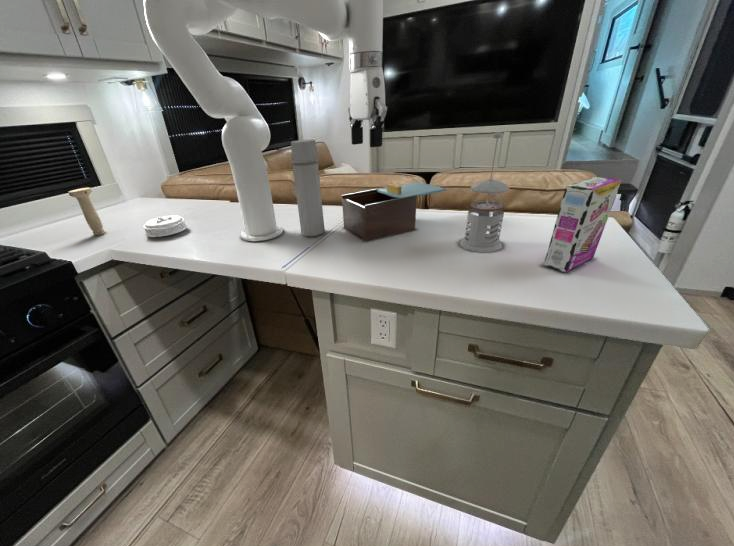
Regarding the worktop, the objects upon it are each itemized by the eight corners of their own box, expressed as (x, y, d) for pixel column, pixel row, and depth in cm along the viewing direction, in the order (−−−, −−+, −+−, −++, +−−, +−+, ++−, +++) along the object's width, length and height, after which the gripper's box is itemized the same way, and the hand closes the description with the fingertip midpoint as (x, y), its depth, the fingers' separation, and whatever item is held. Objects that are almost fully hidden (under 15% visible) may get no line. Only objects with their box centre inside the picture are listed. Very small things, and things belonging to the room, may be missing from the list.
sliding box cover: (377, 191, 99) (377, 182, 97) (418, 183, 104) (419, 175, 102) (401, 199, 89) (401, 190, 87) (446, 190, 93) (447, 181, 92)
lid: (194, 230, 110) (190, 215, 107) (157, 242, 102) (151, 226, 99) (176, 224, 117) (171, 210, 115) (140, 235, 109) (134, 220, 107)
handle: (86, 237, 113) (64, 192, 105) (102, 230, 118) (83, 187, 110) (96, 237, 111) (75, 192, 103) (112, 231, 116) (93, 187, 109)
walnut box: (343, 227, 100) (341, 195, 95) (388, 218, 105) (388, 186, 100) (366, 241, 89) (365, 205, 84) (415, 230, 94) (417, 195, 89)
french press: (452, 246, 81) (465, 134, 69) (472, 233, 89) (487, 128, 76) (493, 255, 75) (515, 134, 63) (511, 239, 82) (534, 128, 70)
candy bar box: (567, 274, 65) (594, 189, 57) (542, 266, 69) (563, 185, 61) (595, 258, 70) (623, 178, 62) (570, 252, 74) (594, 175, 66)
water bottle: (323, 237, 94) (313, 141, 81) (297, 237, 96) (283, 143, 83) (330, 227, 102) (322, 137, 89) (305, 227, 103) (294, 139, 91)
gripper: (400, 58, 70) (397, 146, 79) (362, 68, 84) (362, 141, 93) (370, 59, 68) (370, 149, 76) (335, 68, 81) (338, 144, 90)
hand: (366, 145), depth 85 cm, fingers open, 9 cm apart
